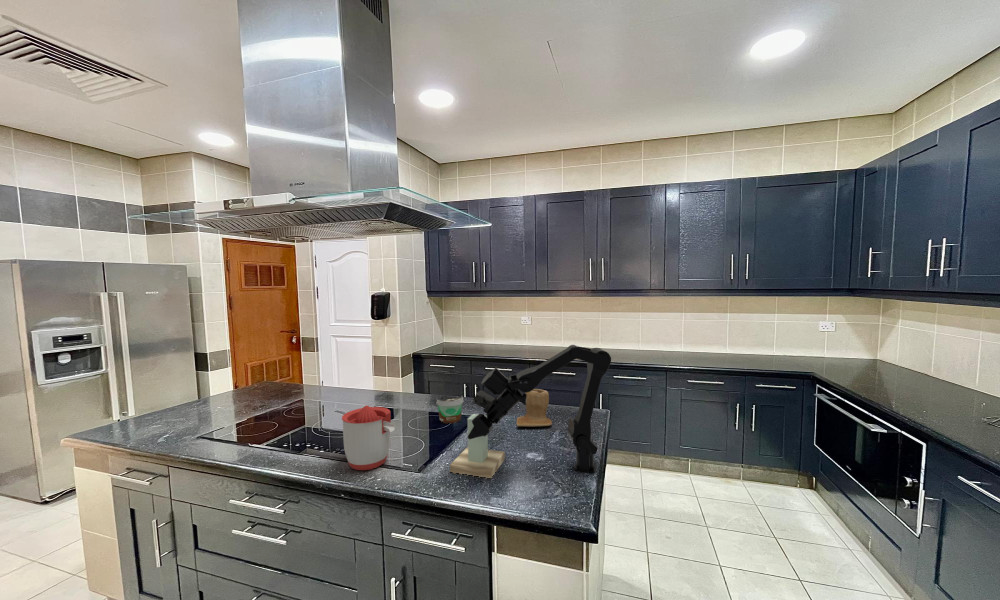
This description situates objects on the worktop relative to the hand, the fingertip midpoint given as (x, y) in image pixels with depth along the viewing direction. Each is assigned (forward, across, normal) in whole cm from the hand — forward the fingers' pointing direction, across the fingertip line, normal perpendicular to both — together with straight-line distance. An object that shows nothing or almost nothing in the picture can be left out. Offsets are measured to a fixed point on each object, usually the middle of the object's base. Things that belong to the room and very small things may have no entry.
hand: (473, 432), depth 127 cm
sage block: (+5, 0, +7) cm, 9 cm away
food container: (+25, -34, -9) cm, 43 cm away
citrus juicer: (+32, +9, -17) cm, 38 cm away
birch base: (+7, 0, +9) cm, 11 cm away
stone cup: (+1, -41, +15) cm, 44 cm away
